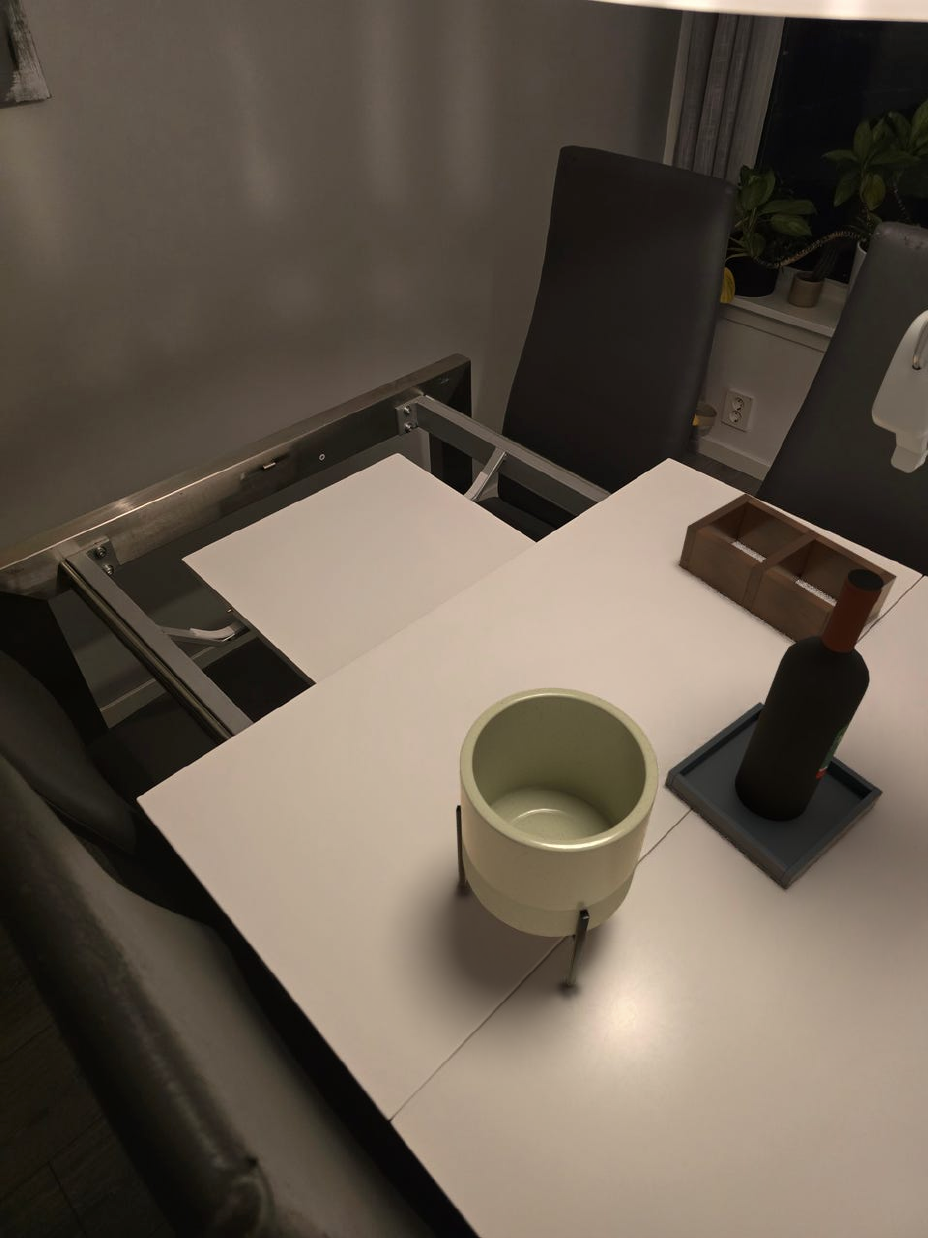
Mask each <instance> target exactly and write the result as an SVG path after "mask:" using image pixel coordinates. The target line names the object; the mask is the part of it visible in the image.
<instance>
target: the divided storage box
mask: <svg viewBox="0 0 928 1238" xmlns="http://www.w3.org/2000/svg"><path fill="white" fill-rule="evenodd" d="M685 532H686V533H685V537H684V541H683V545H682V549H681V554H680V559H679V564H678V566H680V567H681V568H683V569H684V570H685V571H688V572H689V573H690V574H692V575H693V576H694V577H696V578H698V579H699V580H700V581H702V582H704V583H705V584H707V585H709V586H710V587H711V588H713V589H715V590H716V591H718V592H720V593H721V594H722V595H724V596H725V597H727V598H728V599H730V600H732V601H733V602H735V603H736V604H738V605H740V606H741V607H742V608H744V609H745V610H746V611H749V612H750V613H751V614H753V615H754V616H756V617H757V618H759V619H761V620H762V621H764V622H765V623H767V624H768V625H770V626H771V627H773V628H774V629H775V630H778V632H780V633H782V634H784V636H787V637H788V638H790V639H791V640H793V641H794V642H795V643H796V642H797V641H800V640H802V639H805V638H809V637H812V636H822V635H823V632H824V630H825V628H826V625H827V623H828V620H829V618H830V616H831V613H832V611H833V609H834V606H835V605H834V604H831V603H830V602H828V601H826V600H825V599H823V598H821V597H820V596H818V595H817V594H815V593H813V592H811V591H810V590H808V589H806V588H805V587H804V586H801V585H800V584H798V583H797V581H798V580H800V579H801V580H802V581H804V582H806V583H808V585H809V584H810V585H811V586H812V587H815V588H816V589H817V590H819V591H821V592H822V593H824V594H826V595H827V596H829V597H831V598H833V599H834V600H836V601H837V599H838V597H839V595H840V592H841V588H842V585H843V583H844V581H845V579H846V577H847V576H848V574H849V572H851V571H852V570H855V569H865V570H869V571H872V572H874V573H876V574H878V575H879V576H880V577H881V578H882V580H883V581H884V585H883V588H882V592H881V594H880V596H879V598H878V600H877V602H876V603H875V605H874V607H873V609H872V611H871V613H870V615H869V617H868V619H867V621H866V624H865V626H867V625H868V624H869V623H871V622H872V621H873V620H875V619H876V618H877V617H878V616H879V615H880V613H881V610H882V608H883V607H884V604H885V602H886V600H887V597H889V594H890V592H891V590H892V587H893V586H894V584H895V582H896V580H897V577H898V576H897V575H895V574H893V573H892V572H890V571H888V570H887V569H884V568H883V567H881V566H879V565H877V564H875V563H874V562H872V561H870V560H869V559H867V558H865V557H863V556H861V555H859V554H857V553H855V552H854V551H852V550H850V549H848V548H846V547H845V546H843V545H841V544H839V543H837V542H836V541H834V540H832V539H830V538H829V537H826V536H825V535H823V534H821V533H819V532H817V531H815V530H814V529H812V528H810V527H808V526H807V525H805V524H803V523H801V522H799V521H797V520H796V519H794V518H792V517H790V516H788V515H787V514H785V513H783V512H781V511H779V510H777V509H776V508H774V507H772V506H770V505H768V504H767V503H764V502H763V501H761V500H759V499H757V498H755V497H754V496H751V495H750V494H748V493H746V492H745V493H744V494H742V495H739V496H738V497H736V498H734V499H733V500H731V501H730V502H727V503H726V504H724V505H722V506H721V507H719V508H717V509H715V510H714V511H712V512H710V513H708V514H706V515H705V516H703V517H702V518H699V519H698V520H696V521H694V522H693V523H691V524H689V525H687V528H686V531H685ZM736 541H737V542H739V543H740V544H742V545H744V546H746V547H747V548H749V549H750V550H753V551H754V552H756V553H757V554H759V555H760V556H762V557H764V559H763V560H762V561H761V560H758V559H757V558H755V557H754V556H752V555H750V554H749V553H747V552H745V551H744V550H742V549H740V548H738V547H737V546H735V545H734V544H732V543H734V542H736Z"/></svg>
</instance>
